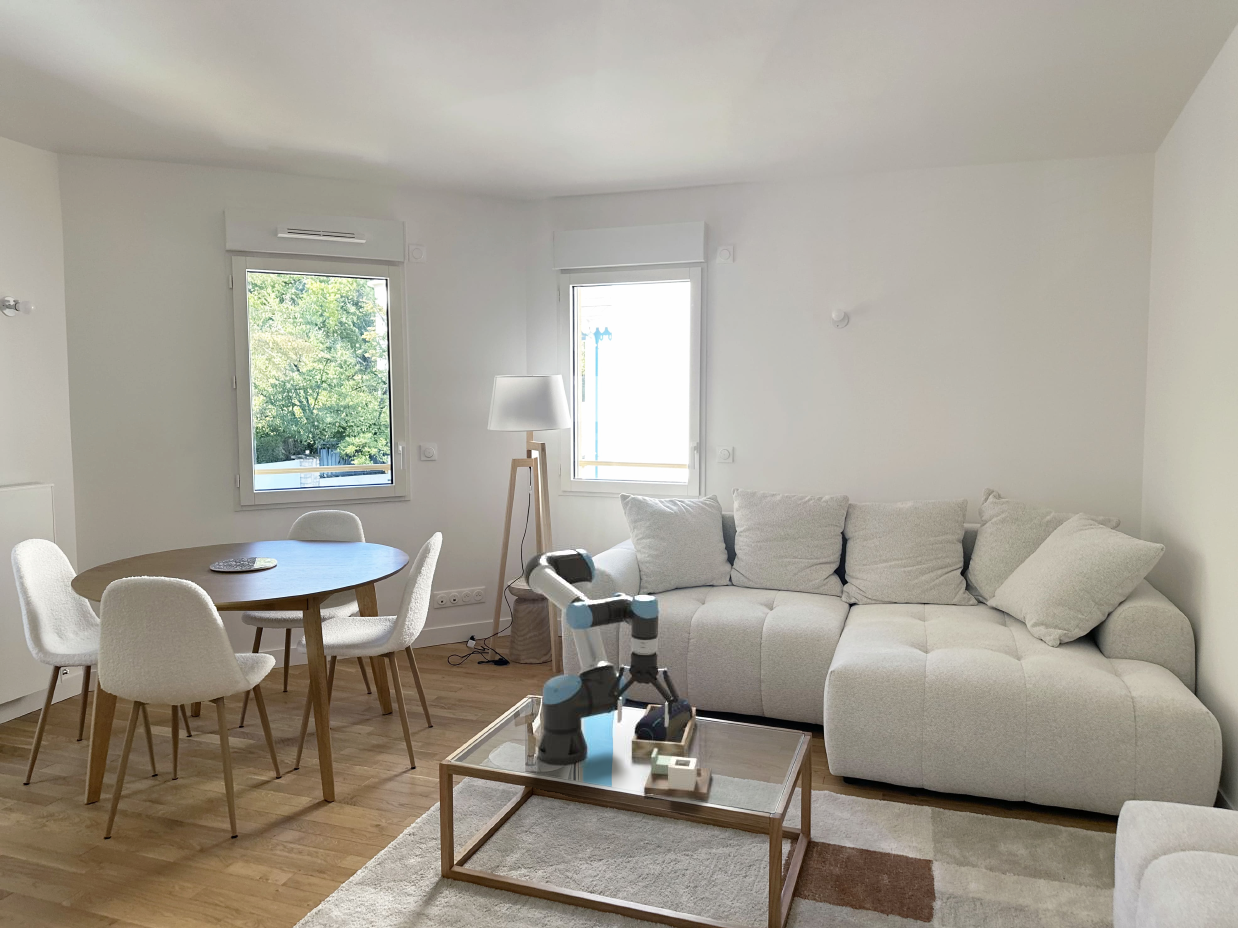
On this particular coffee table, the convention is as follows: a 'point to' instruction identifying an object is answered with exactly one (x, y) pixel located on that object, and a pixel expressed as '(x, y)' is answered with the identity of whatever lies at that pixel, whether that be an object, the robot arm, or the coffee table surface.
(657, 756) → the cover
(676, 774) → the sleeve
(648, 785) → the base plate
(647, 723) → the portable speaker
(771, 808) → the coffee table surface
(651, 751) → the open wooden box
